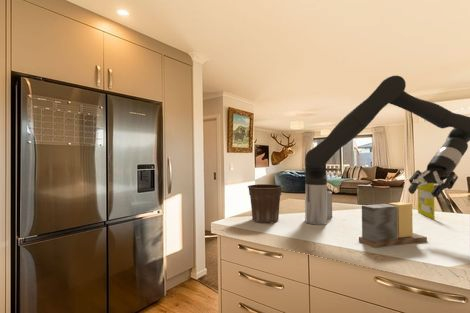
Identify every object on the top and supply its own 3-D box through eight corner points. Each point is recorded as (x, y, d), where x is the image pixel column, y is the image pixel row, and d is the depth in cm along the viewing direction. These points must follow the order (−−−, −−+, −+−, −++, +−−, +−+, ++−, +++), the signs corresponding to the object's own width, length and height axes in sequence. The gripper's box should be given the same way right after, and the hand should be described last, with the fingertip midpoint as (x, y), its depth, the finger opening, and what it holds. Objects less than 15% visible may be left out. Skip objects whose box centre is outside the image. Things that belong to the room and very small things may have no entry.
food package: (435, 219, 119) (435, 176, 119) (433, 219, 119) (432, 176, 120) (419, 212, 134) (418, 174, 134) (416, 212, 134) (416, 174, 135)
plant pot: (276, 226, 109) (275, 188, 110) (242, 222, 117) (241, 186, 117) (287, 218, 124) (286, 185, 124) (256, 215, 131) (256, 183, 132)
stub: (398, 237, 87) (398, 205, 87) (388, 234, 91) (388, 203, 91) (412, 236, 89) (412, 204, 89) (402, 232, 92) (401, 202, 92)
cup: (335, 217, 125) (335, 192, 125) (317, 218, 124) (317, 193, 124) (327, 213, 134) (327, 190, 134) (310, 214, 133) (310, 191, 133)
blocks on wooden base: (374, 247, 82) (374, 208, 82) (358, 241, 89) (358, 205, 89) (426, 241, 88) (426, 204, 88) (408, 235, 95) (407, 201, 95)
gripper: (420, 155, 102) (398, 184, 99) (460, 154, 88) (436, 189, 85) (430, 168, 103) (408, 198, 100) (471, 169, 90) (448, 204, 86)
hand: (421, 193), depth 93 cm, fingers open, 8 cm apart
